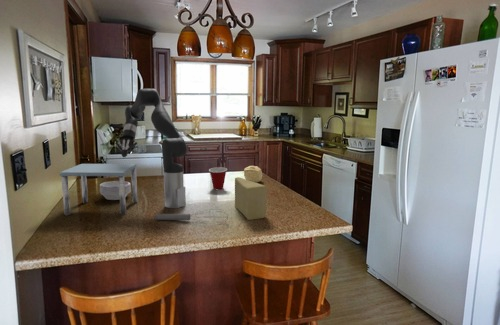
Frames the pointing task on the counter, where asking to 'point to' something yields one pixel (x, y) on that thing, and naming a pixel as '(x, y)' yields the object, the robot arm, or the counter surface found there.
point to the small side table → (99, 170)
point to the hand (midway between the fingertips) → (123, 156)
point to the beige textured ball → (253, 174)
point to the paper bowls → (113, 189)
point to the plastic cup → (218, 177)
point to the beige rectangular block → (250, 198)
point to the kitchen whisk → (186, 216)
